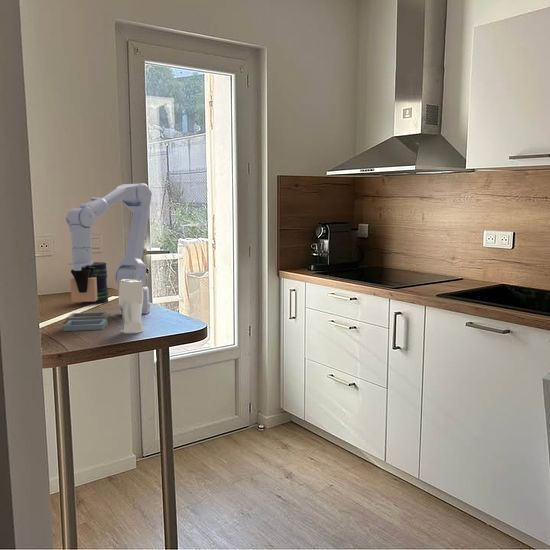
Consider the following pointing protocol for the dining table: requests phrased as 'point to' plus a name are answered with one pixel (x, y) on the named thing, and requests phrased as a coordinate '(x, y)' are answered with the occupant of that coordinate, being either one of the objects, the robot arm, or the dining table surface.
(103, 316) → the grey rectangular open frame
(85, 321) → the grey picture frame
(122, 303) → the beer glass
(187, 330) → the dining table surface
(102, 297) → the storage jar
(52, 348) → the dining table surface
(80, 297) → the terracotta block
